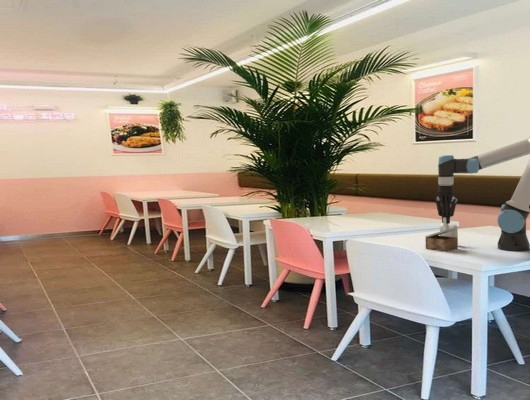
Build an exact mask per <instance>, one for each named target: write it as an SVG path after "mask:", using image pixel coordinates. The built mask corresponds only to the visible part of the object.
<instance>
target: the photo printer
mask: <svg viewBox="0 0 530 400" xmlns="http://www.w3.org/2000/svg"><path fill="white" fill-rule="evenodd" d="M454 228H456V230H454V231H450V232H447V233H444V234H441V235H440V236H448V237H457V238H458V235H459V233H458V226H457V224H455V223H453V222H450V223H449V229H454ZM440 231H443V223H442V222H441V223H440V225H439V232H440Z"/></svg>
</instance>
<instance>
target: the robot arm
mask: <svg viewBox="0 0 530 400" xmlns="http://www.w3.org/2000/svg"><path fill="white" fill-rule="evenodd" d="M529 155H530V136H529V138H527V139H524V140H520V141H516V142H514V143H511V144H508V145H505V146H502V147H500V148H496V149H494V150H491V151H487V152H484V153H481V154H478V155H475V156H472V157H469V158H454V155H453V154H452V155H447V154H446V155H440V156H438V162H437V163H438V164H437V166H438V167H437V168H438V169H437V171H438V177H437V178H438V179H437V183H438V187H437V188H438V190H437V191H438V196H437V197H434V198H433V199H434V201H435V204H436V208H437V209H436V210H437V214H438V216H439V217H441V224H442V223H443V230H449V223H451V217H454V215H455V210H456V207H457V203H458V201H459V199H458V198H456V197H455V194H454V192H455V191H454V182H455V181H454V179H455V178H454V177H455V175H454V174H470V175H471V174H478V173H479V171H480V170H483V169H486V168H490V167H493V166H495V165H496V166H497V165H499V164H503V163H506V162H508V161H512V160H515V159H518V158H522V157H524V156H525V157H526V156H529ZM529 215H530V159H529V161H528V162H527V165H526V167H525V169H524V170H523V173H522V175H521V177H520V179H519V182H518V183H517V186H516V188H515V190H514V192H513V194H512V196H511V198H510V200H507V201H506V202H505V203H504V204H502V205H501V208H500V213H499V214H498V216H497V225H498V227H499V228H500V229H501V230H500V236H499V239H498V241H497V249H499V250H504V251H511V252H519V251H520V252H521V251H522V252H525V251H530V241H529V239H528V236H527V219H528V217H529Z"/></svg>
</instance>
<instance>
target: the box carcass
mask: <svg viewBox="0 0 530 400" xmlns="http://www.w3.org/2000/svg"><path fill="white" fill-rule="evenodd" d="M458 245H459V240H458V238H457V237H448V236H440V235H437V236H432V237H427V238H426V237H425V250H433V251H438V252H445V251H446V252H450V251H454V250H459V249H458V248H459V247H458Z"/></svg>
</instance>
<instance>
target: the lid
mask: <svg viewBox="0 0 530 400" xmlns="http://www.w3.org/2000/svg"><path fill="white" fill-rule="evenodd" d="M454 230H456V228H454V229H449V230H443V231H440V230H439V231H437V232H435V233H432V234H427V235H425V237H424V238H425V239H426V238H427V237H432V236H437V235H441V234H444V233H447V232H450V231H454Z"/></svg>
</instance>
